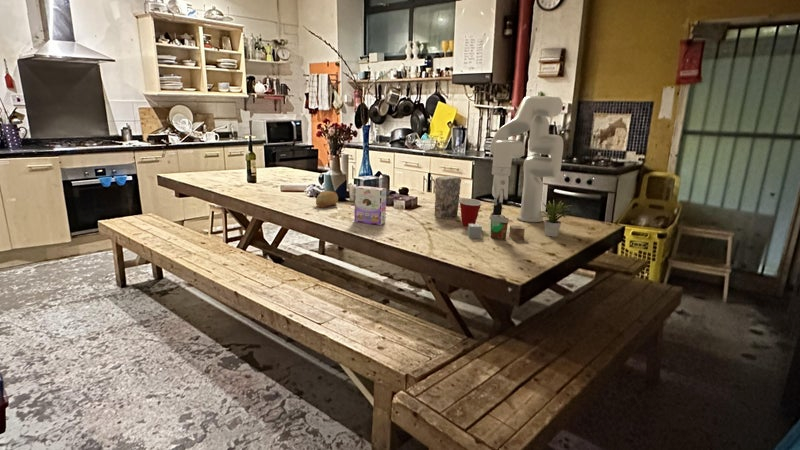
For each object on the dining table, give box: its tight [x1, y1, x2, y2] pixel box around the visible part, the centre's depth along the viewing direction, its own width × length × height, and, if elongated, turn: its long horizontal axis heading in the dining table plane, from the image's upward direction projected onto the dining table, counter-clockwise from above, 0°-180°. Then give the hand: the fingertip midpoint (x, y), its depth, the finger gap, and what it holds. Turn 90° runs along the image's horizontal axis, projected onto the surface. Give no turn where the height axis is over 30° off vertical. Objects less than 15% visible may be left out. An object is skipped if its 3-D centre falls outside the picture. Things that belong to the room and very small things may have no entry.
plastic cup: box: [459, 197, 483, 228], centre depth 212 cm, size 11×11×12 cm
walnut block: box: [508, 224, 526, 241], centre depth 195 cm, size 5×5×5 cm
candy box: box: [353, 185, 387, 226], centre depth 211 cm, size 14×6×16 cm, turn 65°
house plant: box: [540, 198, 573, 238], centre depth 200 cm, size 14×14×16 cm
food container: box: [489, 211, 510, 241], centre depth 195 cm, size 12×6×10 cm, turn 5°
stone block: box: [434, 175, 462, 220], centre depth 228 cm, size 13×7×20 cm, turn 137°
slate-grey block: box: [467, 223, 483, 239], centre depth 195 cm, size 5×5×5 cm
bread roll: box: [315, 190, 339, 209], centre depth 244 cm, size 10×15×8 cm, turn 155°
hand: (497, 214), depth 193 cm, fingers closed
